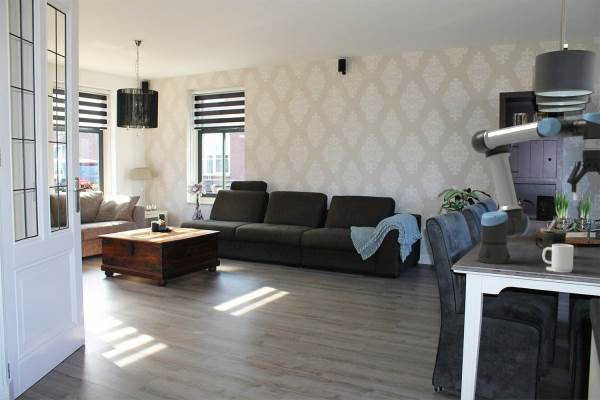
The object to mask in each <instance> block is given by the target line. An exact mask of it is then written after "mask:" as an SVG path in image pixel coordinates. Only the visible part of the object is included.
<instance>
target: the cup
mask: <svg viewBox="0 0 600 400" xmlns="http://www.w3.org/2000/svg"><path fill="white" fill-rule="evenodd" d="M546 250H551V251H552V257H551V260H547V259H546V256H545V252H546ZM541 257H542V261H543V262H544V263H546V264H548V265H551V266H552V268H553V269H557V270H572V271H573V269H574V245H572V244H567V243H566V244H552V248H551V247H546V248H545V249H544V250H543V253H542V254H541Z"/></svg>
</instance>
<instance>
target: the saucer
mask: <svg viewBox="0 0 600 400" xmlns="http://www.w3.org/2000/svg"><path fill="white" fill-rule="evenodd" d="M545 270H546V271H548V272H552V271H553V273H568V274H569V273H572V272H573V269H572V270H557V269H553V268H552V265H549V266H546V267H545Z"/></svg>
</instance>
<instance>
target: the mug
mask: <svg viewBox="0 0 600 400" xmlns="http://www.w3.org/2000/svg"><path fill="white" fill-rule="evenodd" d="M567 234H568V233H567V232H565V231H559V230H558V231H556V230H555V231H554V230H543V231H541V235H536V236H535V238H534V243H535V246H536V248H538V249H540V250H542V253H543V250H544V249H545V248H546V247H551V248H552V244H567V243H566V242H567V241H566V239H567ZM538 238H542V246H540V245H539V243H538ZM545 257H548V258H549V257H550V258H552V251H551V250H546V252H545Z"/></svg>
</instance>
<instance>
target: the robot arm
mask: <svg viewBox="0 0 600 400" xmlns="http://www.w3.org/2000/svg"><path fill="white" fill-rule="evenodd" d="M582 116H583V117H582V118H576V119H567V118H565V119H564V118H555V117H546V118H543V119H541V120H539V121H534V122H528V123H524V124H519V125H514V126H509V127H504V128H498V129H495V130H494V129H493V128H488V129H481V130H477V131H476V132H475V133H474V134H473V135H472V137H471V147H472V148H473V151H475V152H477V153H479V154H485V159H486V160H487V161H488V162H489V163H490V164H489V165H490V168H491V172H492V178H493V182H494V187H495V193H496V198H497V201H498V207H499V208H498V210H497V211H496V210H495V211H489V212H484V213H483V214H482V215H481V220H480V223H481V224H480V245H479V246H480V247H479V249H478V252H477V253H476V261H477V260H478V261H477V262H480V261H481V262H480V263H484V262H487V263H486V264H499V265H500V264H509V263H511V260H512V259H511V255H510V251H509V248H508V238H518V237H522V236H524V235H526V234H527V232H529V230H530V227H531V222H530V221H531V220H530V217H529V216H528V215H527V214H526V213H524V211H523V207H521V206H520V205H519V203H518V200H517V199H518V198H517V194H516V190H515V184H514V180H513V175H512V170H511V166H510V161H509V157H510V156H511V151H512V148H513V146H514V144H516V143H522V142H527V141H532V140H533V141H534V140H537V139H545V138H551V137H557V138H565V139H566V138H575V137H577V138H578V137H582V157H581V158H582V161H581V160H580V161H577V160H576V161H574V167H573V168H572V171H571V172H570V174H569V177H568V178H567V181H566V182H567V184H570V186H571V190H570V191H571V192H572V200H573V201H579V194H580V193H579V192H580V188H579V187H580V185H579V184H578V183H579V182H580V181H581V180H582V178H583V177H585V175H586V174H587V173H594V172H595V173H597V174H598V175H599V176H600V112H587V113H586V112H585V113H584V114H583V115H582ZM581 167H582V168H581Z"/></svg>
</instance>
